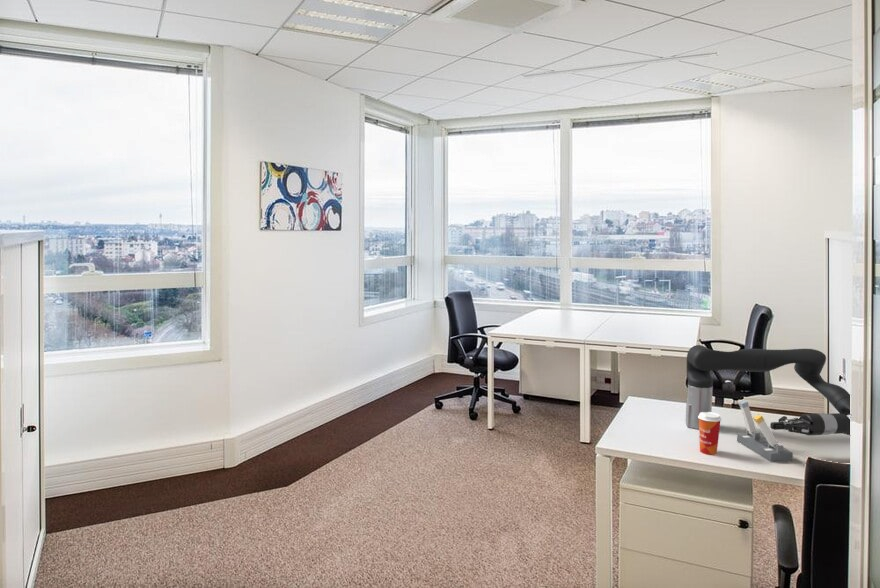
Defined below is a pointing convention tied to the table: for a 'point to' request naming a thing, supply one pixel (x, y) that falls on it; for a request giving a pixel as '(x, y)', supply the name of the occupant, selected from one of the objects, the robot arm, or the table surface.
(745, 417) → the toggle
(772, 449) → the toggle switch base
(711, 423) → the paper cup
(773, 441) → the toggle
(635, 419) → the table surface
